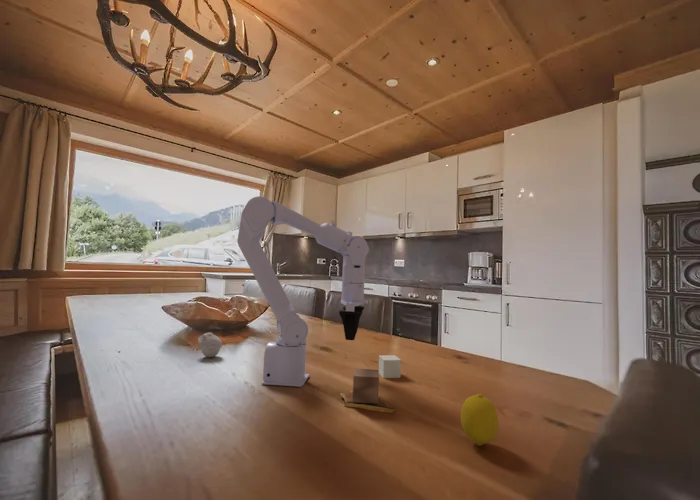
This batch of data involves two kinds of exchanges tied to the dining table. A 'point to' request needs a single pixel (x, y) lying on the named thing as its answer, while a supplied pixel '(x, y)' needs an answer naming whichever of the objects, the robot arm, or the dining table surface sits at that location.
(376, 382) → the walnut block
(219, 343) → the round grey stone
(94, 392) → the dining table surface
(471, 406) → the lemon
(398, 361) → the white cube
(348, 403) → the shard
